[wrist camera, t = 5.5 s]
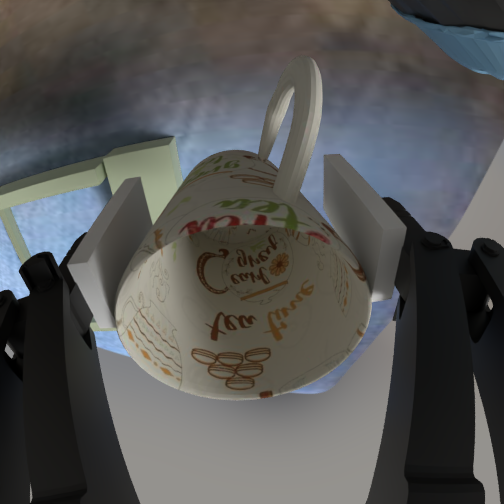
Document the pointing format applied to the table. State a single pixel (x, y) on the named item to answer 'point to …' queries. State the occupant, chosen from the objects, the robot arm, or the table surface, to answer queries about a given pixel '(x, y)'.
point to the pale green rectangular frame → (92, 174)
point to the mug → (246, 270)
